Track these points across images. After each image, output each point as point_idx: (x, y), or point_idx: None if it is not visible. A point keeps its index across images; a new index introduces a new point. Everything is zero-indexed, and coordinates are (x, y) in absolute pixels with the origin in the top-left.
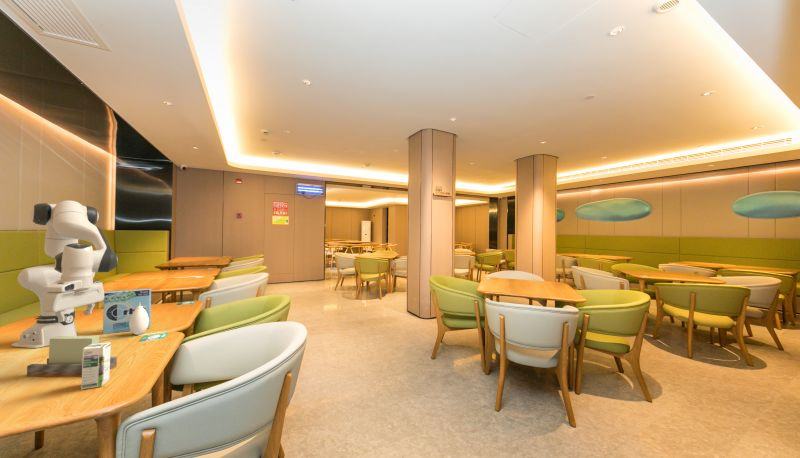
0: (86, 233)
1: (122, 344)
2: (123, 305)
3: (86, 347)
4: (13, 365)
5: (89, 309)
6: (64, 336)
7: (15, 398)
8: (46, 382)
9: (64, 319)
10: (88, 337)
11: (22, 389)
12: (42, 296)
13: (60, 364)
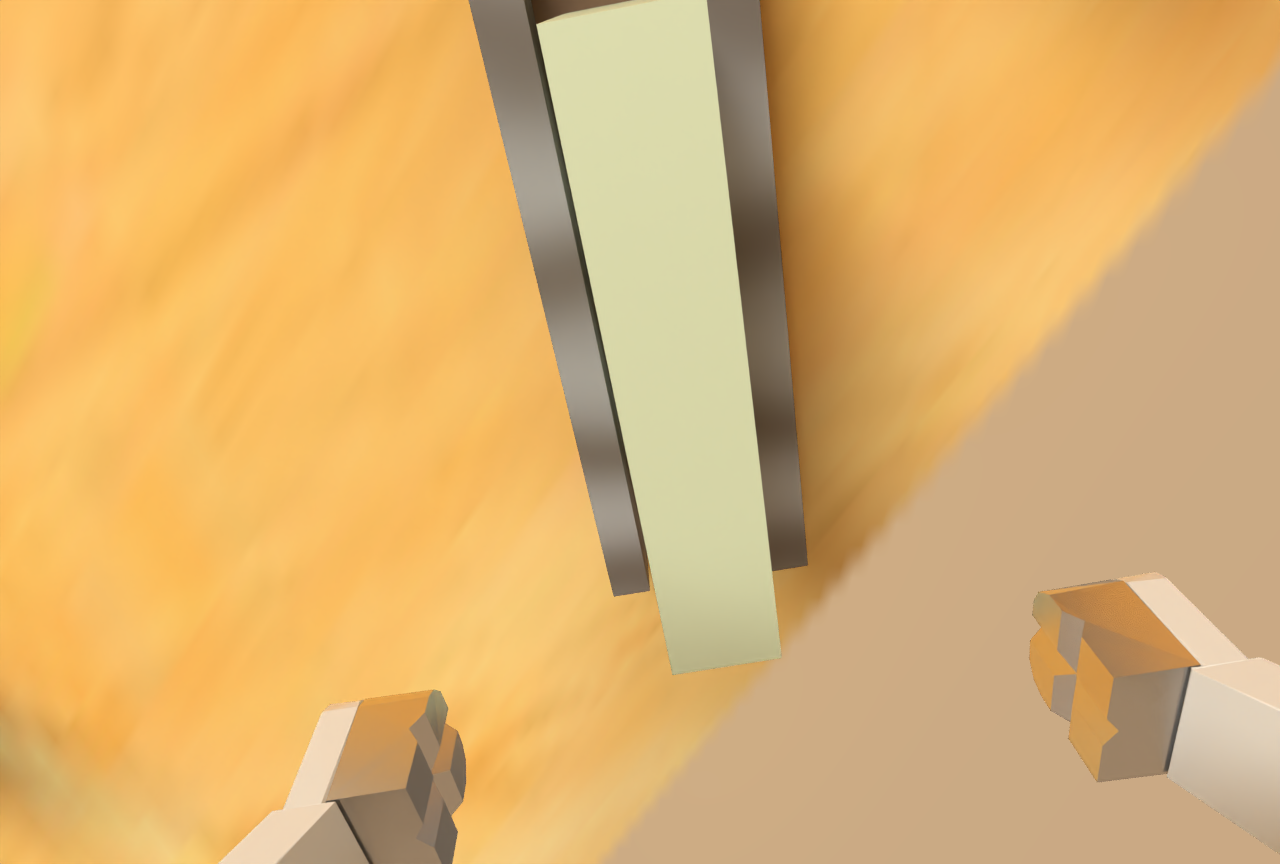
0: None
1: (16, 498)
2: None
3: None
4: (639, 777)
5: (330, 849)
6: (676, 586)
7: (1192, 100)
8: (893, 208)
9: (1140, 607)
10: (660, 152)
11: (1019, 256)
12: None
13: (758, 312)
